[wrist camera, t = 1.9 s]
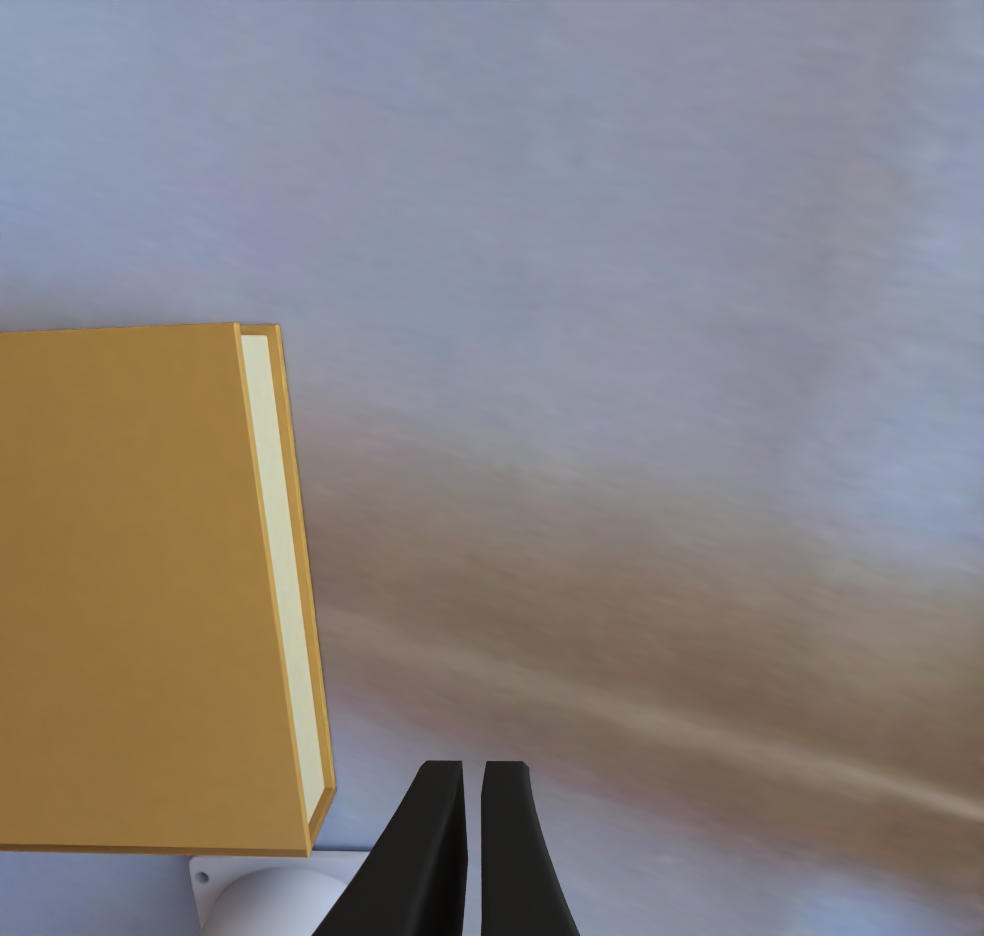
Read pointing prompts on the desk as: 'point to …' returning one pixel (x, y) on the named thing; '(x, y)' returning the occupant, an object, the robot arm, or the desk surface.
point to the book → (156, 598)
